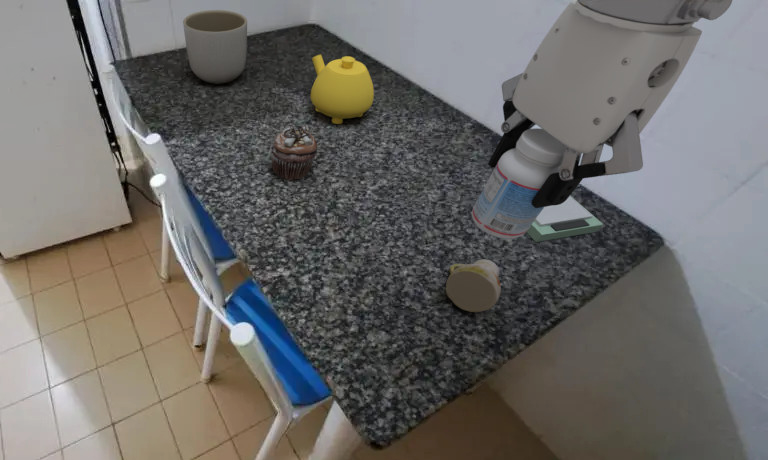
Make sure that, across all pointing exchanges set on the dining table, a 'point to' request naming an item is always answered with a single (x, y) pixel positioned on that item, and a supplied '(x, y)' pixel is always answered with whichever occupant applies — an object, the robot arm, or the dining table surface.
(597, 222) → the scale
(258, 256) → the dining table surface
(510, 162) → the pill bottle
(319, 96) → the teapot
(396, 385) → the dining table surface
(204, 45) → the planter
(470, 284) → the white floral pitcher
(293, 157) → the cupcake
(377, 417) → the dining table surface
